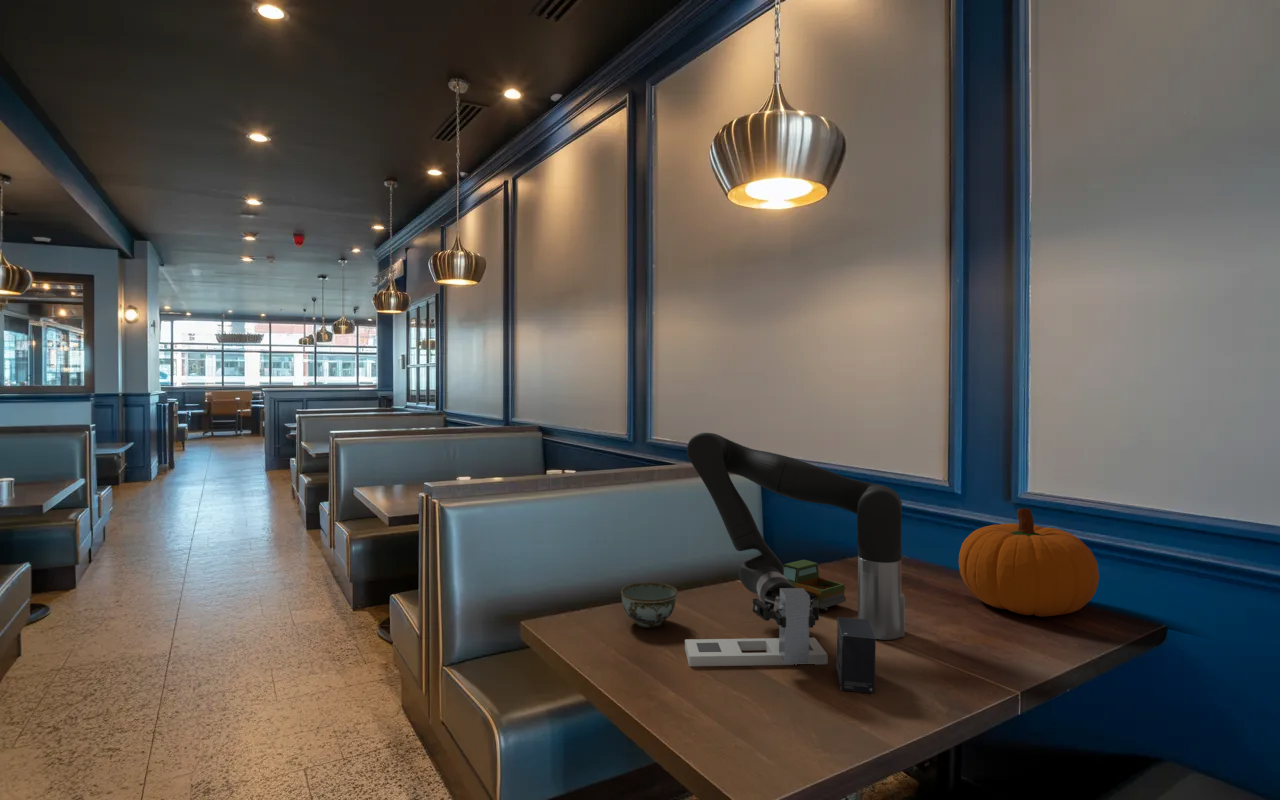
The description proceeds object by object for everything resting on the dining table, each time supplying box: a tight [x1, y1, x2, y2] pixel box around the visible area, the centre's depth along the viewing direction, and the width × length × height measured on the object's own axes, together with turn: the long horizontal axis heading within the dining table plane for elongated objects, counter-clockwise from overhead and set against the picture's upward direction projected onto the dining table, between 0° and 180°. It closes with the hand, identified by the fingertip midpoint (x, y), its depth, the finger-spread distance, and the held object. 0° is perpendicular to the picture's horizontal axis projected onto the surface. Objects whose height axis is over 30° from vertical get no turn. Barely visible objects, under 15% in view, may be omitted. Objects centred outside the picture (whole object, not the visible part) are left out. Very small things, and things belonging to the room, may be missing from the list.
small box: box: [835, 616, 877, 694], centre depth 128 cm, size 11×6×10 cm, turn 168°
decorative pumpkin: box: [958, 507, 1100, 618], centre depth 171 cm, size 31×30×25 cm
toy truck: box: [782, 559, 847, 611], centre depth 175 cm, size 11×21×10 cm, turn 37°
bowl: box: [620, 581, 679, 629], centre depth 159 cm, size 14×13×8 cm
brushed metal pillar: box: [778, 588, 810, 664], centre depth 130 cm, size 5×5×13 cm
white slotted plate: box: [684, 637, 829, 667], centre depth 140 cm, size 28×9×2 cm, turn 92°
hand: (797, 622), depth 127 cm, fingers closed on brushed metal pillar, 4 cm apart
